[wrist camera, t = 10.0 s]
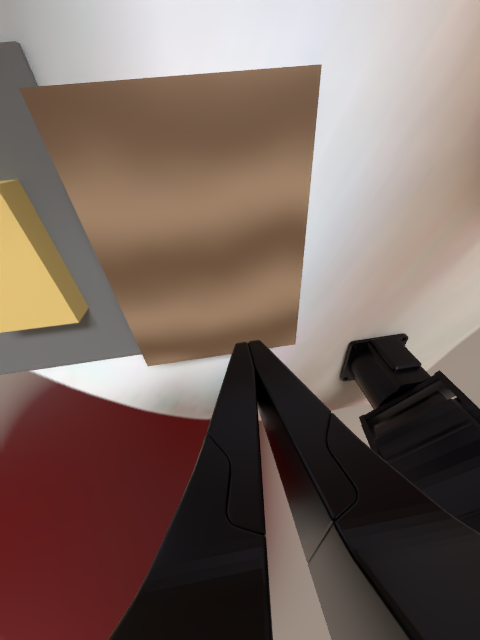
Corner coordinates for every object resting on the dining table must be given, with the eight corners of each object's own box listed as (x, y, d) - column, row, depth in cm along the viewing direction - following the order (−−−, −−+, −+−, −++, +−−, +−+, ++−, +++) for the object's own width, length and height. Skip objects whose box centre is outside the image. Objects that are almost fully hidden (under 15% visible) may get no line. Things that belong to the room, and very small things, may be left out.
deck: (282, 315, 23) (295, 344, 20) (155, 333, 22) (147, 366, 19) (292, 81, 13) (321, 64, 10) (64, 100, 12) (18, 88, 9)
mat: (150, 350, 23) (150, 352, 23) (-1, 372, 23) (-3, 375, 22) (19, 43, 11) (15, 41, 11) (-324, 67, 10) (-336, 65, 10)
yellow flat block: (-7, 333, 17) (10, 317, 19) (78, 322, 18) (88, 307, 19) (-134, 196, 12) (-95, 189, 13) (-5, 185, 12) (18, 179, 14)
